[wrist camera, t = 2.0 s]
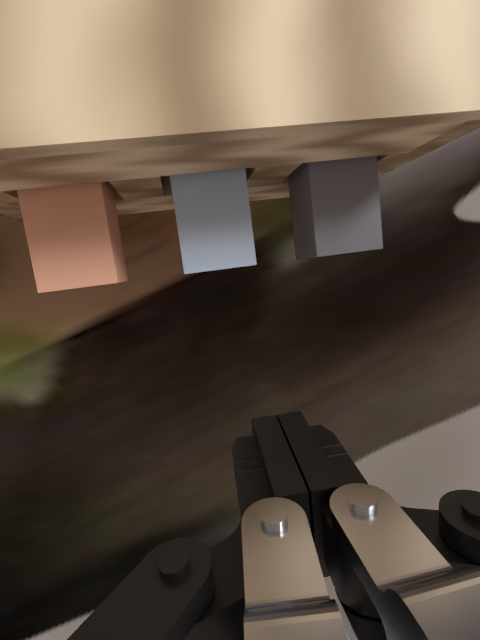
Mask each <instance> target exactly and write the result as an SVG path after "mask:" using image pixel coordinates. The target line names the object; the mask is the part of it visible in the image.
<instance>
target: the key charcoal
mask: <svg viewBox="0 0 480 640" xmlns="http://www.w3.org/2000/svg"><path fill="white" fill-rule="evenodd" d="M288 186H289V195H290V205H291V215H292V224H293V234H294V243H295V253H296V259H304V258H313V257H321V256H329V255H337V254H344V253H352V252H360V251H368V250H375V249H383V239H382V225H381V211H380V197H379V182H378V168H377V156H371V157H360V158H350V159H339V160H329V161H318V162H307V163H302V164H301V165H300V166H299V167H297V168H296V169H295V170H294V171H293V172H292V173H291V174H290V175H289V176H288Z"/></svg>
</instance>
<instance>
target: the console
mask: <svg viewBox="0 0 480 640" xmlns="http://www.w3.org/2000/svg"><path fill="white" fill-rule="evenodd" d="M478 128H480V0H0V214H1V215H4V216H7V217H10V218H14V219H17V220H20V221H23V218H22V213H21V209H20V204H19V199H18V194H17V190H22V189H33V188H43V187H54V186H65V185H75V184H86V183H96V182H107V181H109V182H110V183H111V185H112V186H113V192H114V198H115V204H116V210H117V215H126V214H135V213H145V212H154V211H163V210H173V209H174V203H173V196H172V189H171V182H170V175H181V174H191V173H202V172H212V171H223V170H234V169H244V168H245V170H246V179H247V187H248V196H249V201H257V200H267V199H276V198H285V197H290V195H289V186H288V176H289V175H290V174H291V173H292V172H293V171H294V170H295V169H296V168H297V167H299V166H300V165H301V164H302V163H307V162H318V161H329V160H339V159H350V158H360V157H371V156H377V168H378V177H379V176H381V175H383V174H385V173H387V172H389V171H391V170H393V169H395V168H397V167H399V166H401V165H403V164H405V163H408V162H410V161H412V160H414V159H416V158H418V157H420V156H422V155H424V154H426V153H428V152H430V151H432V150H434V149H436V148H438V147H440V146H443V145H445V144H447V143H449V142H451V141H453V140H455V139H457V138H459V137H461V136H463V135H465V134H467V133H469V132H471V131H473V130H475V129H478Z"/></svg>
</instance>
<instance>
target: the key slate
mask: <svg viewBox="0 0 480 640" xmlns="http://www.w3.org/2000/svg"><path fill="white" fill-rule="evenodd" d="M170 182H171V189H172V196H173V203H174V209H175V216H176V223H177V230H178V236H179V243H180V250H181V257H182V263H183V270H184V274H190V273H198V272H205V271H213V270H221V269H229V268H236V267H244V266H252V265H257V263H256V254H255V246H254V237H253V229H252V221H251V212H250V204H249V196H248V187H247V179H246V170H245V168H244V169H234V170H223V171H212V172H202V173H191V174H181V175H170Z"/></svg>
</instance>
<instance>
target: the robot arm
mask: <svg viewBox="0 0 480 640" xmlns="http://www.w3.org/2000/svg"><path fill="white" fill-rule="evenodd" d="M252 432H253V436H247V437H240V438H237V440H236V442H235V444H234V446H233V448H232V454H233V462H234V470H235V478H236V486H237V494H238V500H239V507H240V513H241V521H240V524H239V525H238V527H237V529H236V530H235V531H234V533H233V534H231V535H230V536H229V537H228V538H227V539H225V540H224V541H222V542H220V543H219V544H216V545H214V546H212V547H210V548H208V549H207V548H206V546H205V545H204V544H202V543H201V542H199V541H198V540H195V539H191V538H177V539H172V540H169V541H167V542H164V543H162V544H160V545H159V546H157V547H156V548H154V549H153V550H152V551H151V552H150V553H149V554H148V555H147V556H146V557H145V558H144V559H143V560H142V561H141V562H140V563H139V564H138V565H137V566H136V567H135V568H134V569H133V571H132V572H131V573H130V574H129V575H128V576H127V577H126V578H125V579H124V580H123V581H122V582H121V583H120V584H119V585H118V586H117V587H116V588H115V590H114V591H113V592H112V593H111V594H110V595H109V596H108V597H107V598H106V599H105V600H104V601H103V602H102V603H101V604H100V605H99V606H98V607H97V609H96V610H95V611H94V612H93V613H92V614H91V615H90V616H89V617H88V618H87V619H86V620H85V621H84V622H83V623H82V624H81V625H80V626H79V628H78V629H77V630H76V631H75V632H74V633H73V634H72V635H71V636H70V637H69V638H68V639H67V640H348V637H347V634H348V636H349V639H350V640H480V492H477V491H472V490H455V491H451V492H448V493H446V494H445V495H443V496H442V498H441V499H440V501H439V510H427V509H414V508H406V507H401V506H399V505H398V504H397V503H396V501H395V500H394V499H393V498H392V497H391V496H390V495H389V494H388V493H387V492H385V491H384V490H382V489H380V488H378V487H375V486H372V485H369V484H368V483H367V482H366V480H365V479H364V477H363V476H362V474H361V473H360V471H359V470H358V469H357V467H356V465H355V464H354V462H353V461H352V460H351V458H350V457H349V455H348V454H347V453H346V451H345V449H344V448H343V446H342V445H341V444H340V442H339V440H338V439H337V438H336V436H335V435H334V433H333V432H331V431H330V430H328V429H326V428H325V427H323V426H321V425H316V426H310V427H309V425H308V423H307V422H306V420H305V418H304V416H303V415H302V413H301V412H300V411H299V412H292V413H286V414H279V415H276V416H275V415H273V416H266V417H260V418H253V419H252ZM328 576H330V577H331V580H332V582H333V585H334V587H335V600H334V599H332V600H330V598H329V595H328V591H327V588H326V584H325V580H324V577H328ZM346 632H347V633H346Z"/></svg>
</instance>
